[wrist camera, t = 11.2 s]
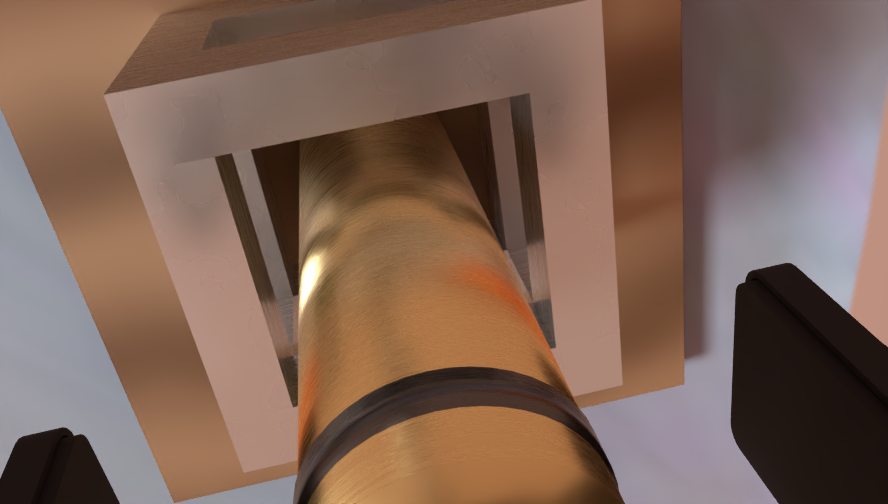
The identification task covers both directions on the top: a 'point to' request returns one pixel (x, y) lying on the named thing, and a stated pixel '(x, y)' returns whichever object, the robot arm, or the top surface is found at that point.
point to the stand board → (144, 268)
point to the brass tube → (423, 339)
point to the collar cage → (352, 106)
